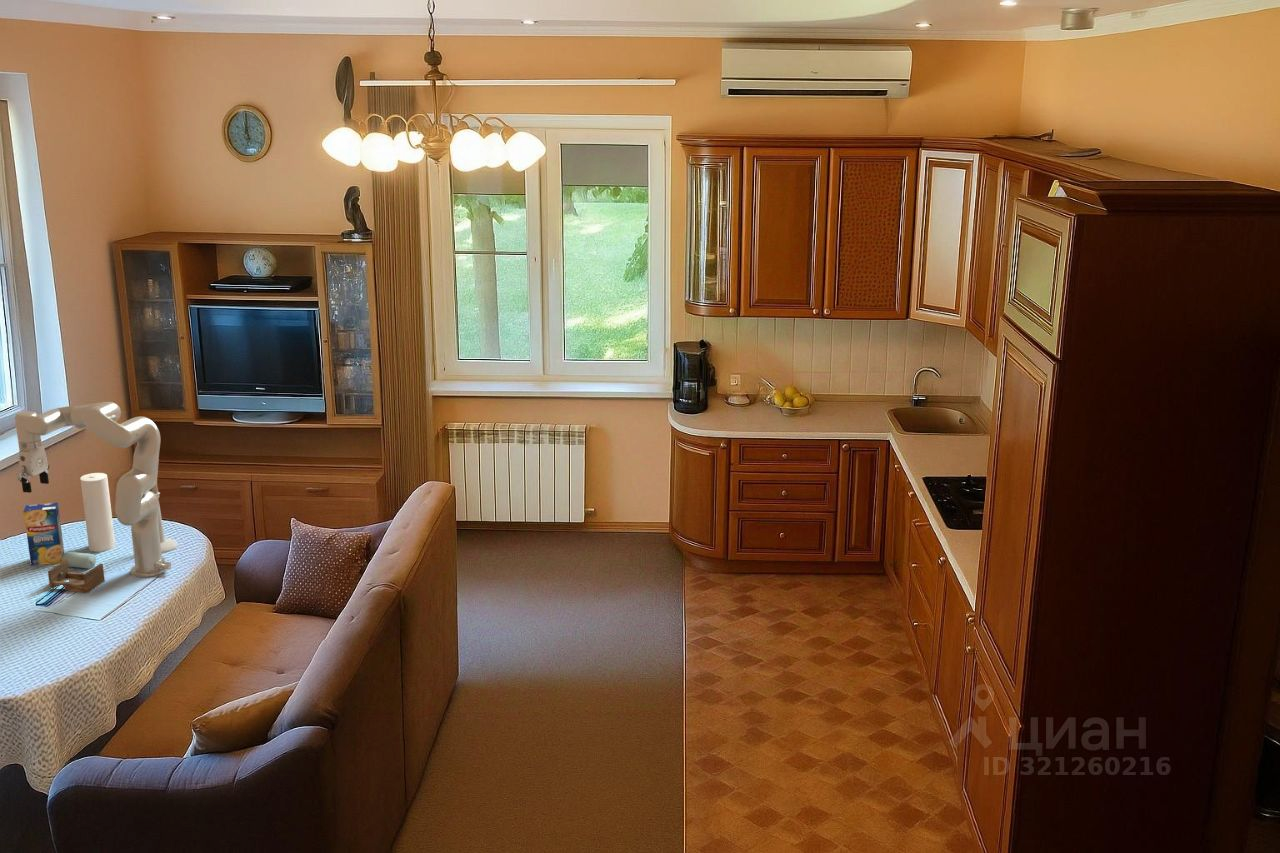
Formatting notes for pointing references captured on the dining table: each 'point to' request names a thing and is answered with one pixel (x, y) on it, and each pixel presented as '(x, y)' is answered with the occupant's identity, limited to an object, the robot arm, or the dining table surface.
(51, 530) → the beverage box
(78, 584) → the holder
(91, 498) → the cylinder container
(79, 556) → the roll
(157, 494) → the candlestick
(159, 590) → the dining table surface
